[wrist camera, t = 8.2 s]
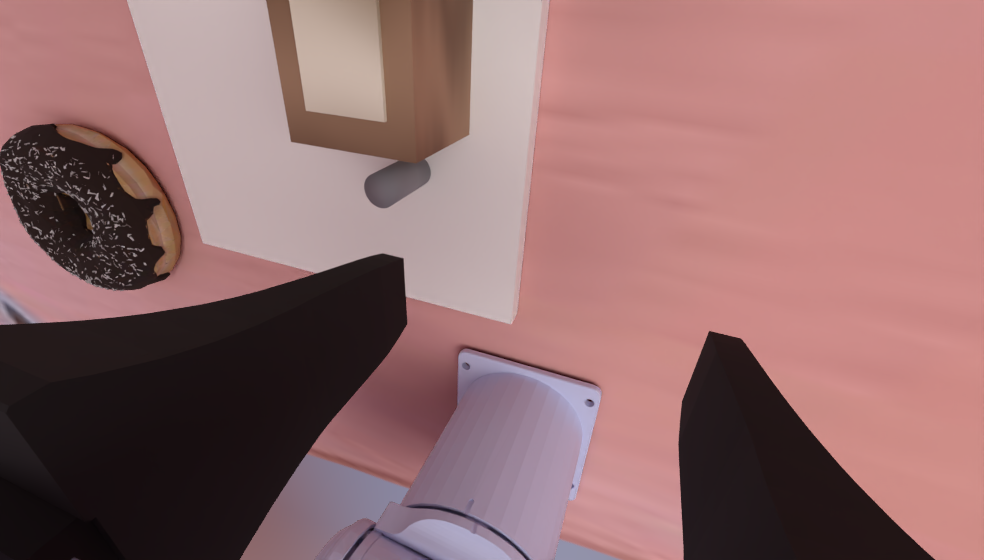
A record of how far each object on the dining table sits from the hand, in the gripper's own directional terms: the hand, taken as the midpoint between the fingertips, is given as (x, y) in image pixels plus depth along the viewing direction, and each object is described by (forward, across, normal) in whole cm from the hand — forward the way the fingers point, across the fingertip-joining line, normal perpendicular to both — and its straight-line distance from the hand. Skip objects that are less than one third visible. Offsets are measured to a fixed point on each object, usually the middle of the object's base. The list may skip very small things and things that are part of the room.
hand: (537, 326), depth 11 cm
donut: (+10, +31, +6) cm, 33 cm away
